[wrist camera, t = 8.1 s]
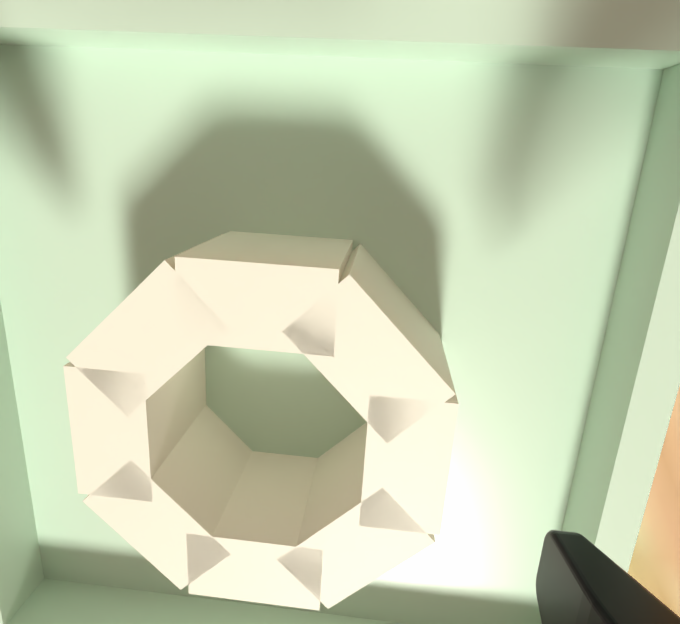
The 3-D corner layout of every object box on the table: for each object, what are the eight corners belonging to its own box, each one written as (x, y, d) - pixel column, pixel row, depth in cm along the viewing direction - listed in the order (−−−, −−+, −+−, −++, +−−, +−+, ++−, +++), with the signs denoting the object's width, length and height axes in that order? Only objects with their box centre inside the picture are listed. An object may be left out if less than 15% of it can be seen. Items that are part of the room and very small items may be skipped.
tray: (35, 580, 15) (-21, 646, 13) (-59, 6, 11) (-167, -31, 9) (555, 645, 14) (583, 729, 12) (701, 30, 10) (787, -6, 8)
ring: (153, 489, 13) (88, 580, 10) (136, 224, 11) (49, 246, 8) (419, 520, 13) (427, 624, 10) (453, 247, 11) (476, 279, 8)
